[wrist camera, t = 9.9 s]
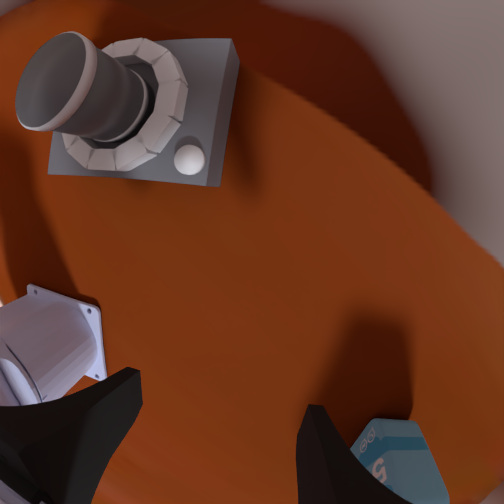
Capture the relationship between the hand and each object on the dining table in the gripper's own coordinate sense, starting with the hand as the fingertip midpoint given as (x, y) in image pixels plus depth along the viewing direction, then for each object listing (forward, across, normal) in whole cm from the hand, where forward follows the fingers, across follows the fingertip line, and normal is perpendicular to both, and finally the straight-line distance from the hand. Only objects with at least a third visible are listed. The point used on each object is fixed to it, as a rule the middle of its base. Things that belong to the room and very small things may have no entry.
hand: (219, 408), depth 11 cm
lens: (+6, +9, -13) cm, 17 cm away
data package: (+10, -14, +14) cm, 22 cm away
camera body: (+10, +9, -13) cm, 19 cm away
